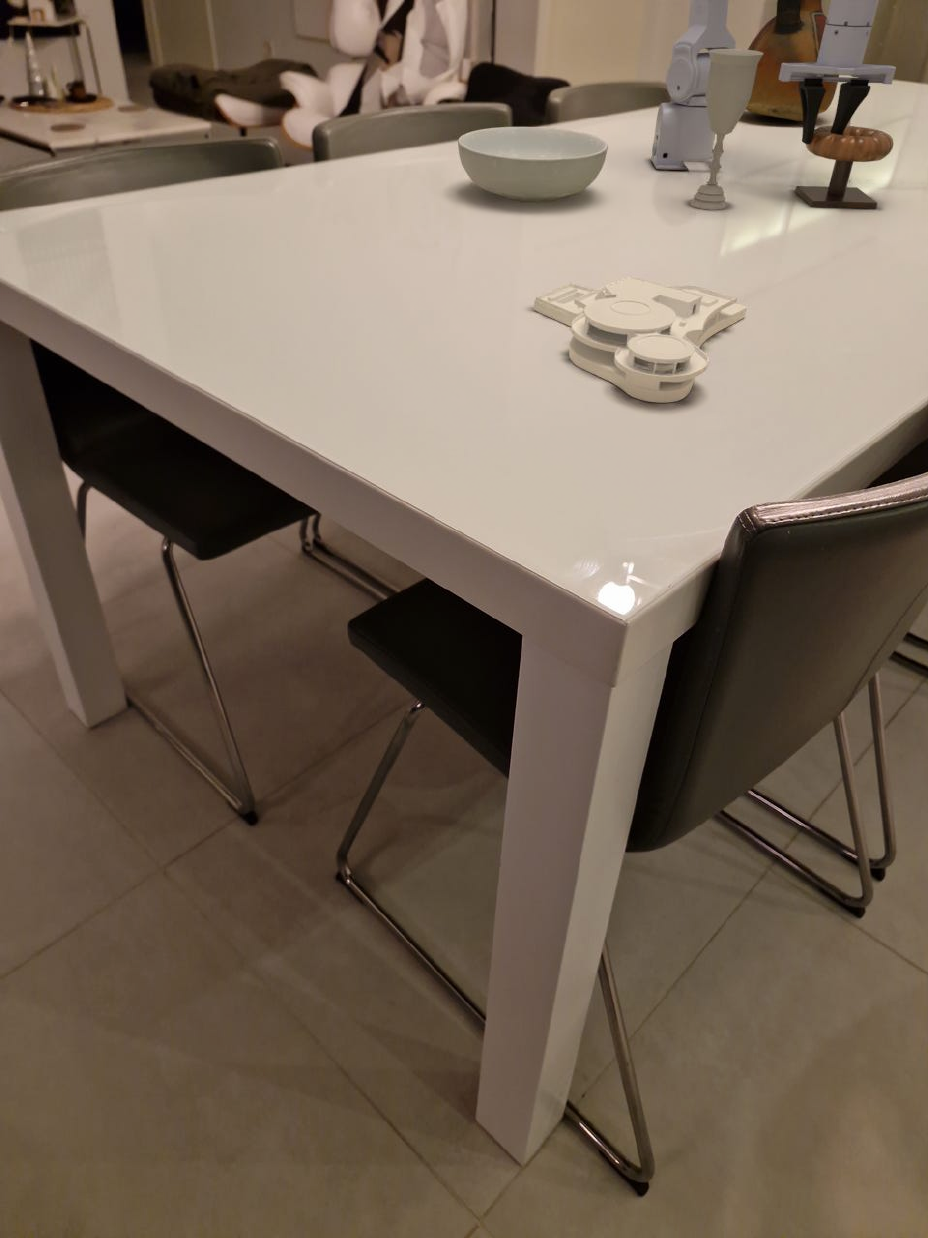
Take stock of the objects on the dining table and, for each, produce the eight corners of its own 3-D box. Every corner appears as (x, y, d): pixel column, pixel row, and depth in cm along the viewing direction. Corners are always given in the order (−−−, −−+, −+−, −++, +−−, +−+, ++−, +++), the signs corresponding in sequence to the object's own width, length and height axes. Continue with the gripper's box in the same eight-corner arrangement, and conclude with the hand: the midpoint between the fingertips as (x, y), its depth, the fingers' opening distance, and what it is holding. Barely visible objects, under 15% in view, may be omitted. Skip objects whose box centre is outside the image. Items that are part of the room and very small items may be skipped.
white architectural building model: (805, 332, 83) (818, 285, 80) (669, 416, 68) (678, 361, 65) (609, 279, 94) (615, 236, 92) (457, 340, 80) (457, 291, 77)
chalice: (734, 213, 117) (765, 56, 106) (683, 209, 118) (709, 53, 107) (732, 199, 123) (761, 49, 111) (683, 196, 124) (708, 47, 112)
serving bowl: (431, 200, 120) (430, 144, 116) (496, 171, 134) (498, 121, 130) (569, 221, 113) (574, 163, 108) (623, 188, 127) (629, 136, 123)
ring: (816, 162, 116) (822, 136, 114) (795, 145, 125) (800, 122, 123) (900, 165, 116) (907, 140, 114) (872, 148, 125) (879, 125, 123)
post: (811, 206, 121) (821, 165, 117) (794, 191, 128) (804, 151, 124) (875, 208, 120) (888, 166, 117) (855, 193, 127) (866, 153, 124)
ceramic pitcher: (838, 117, 179) (885, -67, 160) (813, 132, 165) (861, -67, 146) (746, 107, 186) (780, -70, 168) (715, 120, 173) (748, -70, 154)
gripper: (800, 26, 108) (773, 147, 117) (916, 28, 108) (881, 150, 116) (786, 21, 114) (762, 137, 122) (897, 23, 113) (865, 139, 122)
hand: (819, 142), depth 120 cm, fingers closed on ring, 3 cm apart
